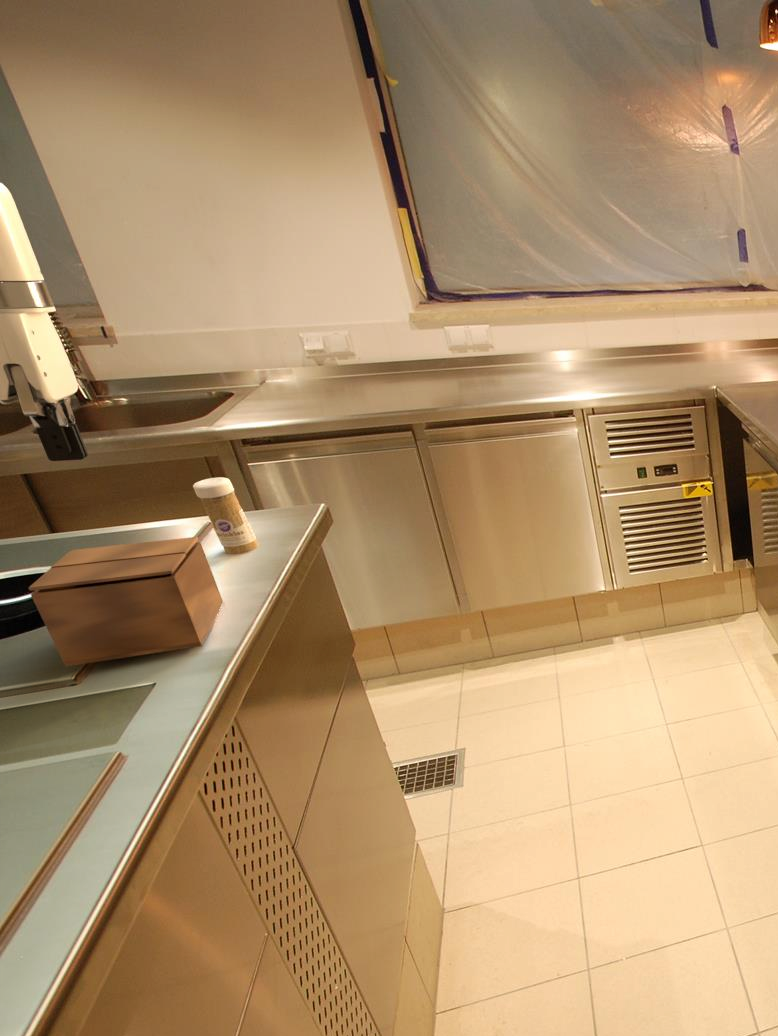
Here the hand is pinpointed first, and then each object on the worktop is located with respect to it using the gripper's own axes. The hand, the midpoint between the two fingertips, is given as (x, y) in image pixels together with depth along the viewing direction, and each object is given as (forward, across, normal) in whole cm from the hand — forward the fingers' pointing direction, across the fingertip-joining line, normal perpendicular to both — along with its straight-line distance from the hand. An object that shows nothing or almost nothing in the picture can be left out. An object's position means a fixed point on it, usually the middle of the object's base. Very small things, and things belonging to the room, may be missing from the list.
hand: (69, 458), depth 103 cm
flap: (+13, -1, +2) cm, 13 cm away
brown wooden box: (+23, +3, +2) cm, 23 cm away
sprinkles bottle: (+22, -25, +8) cm, 35 cm away
